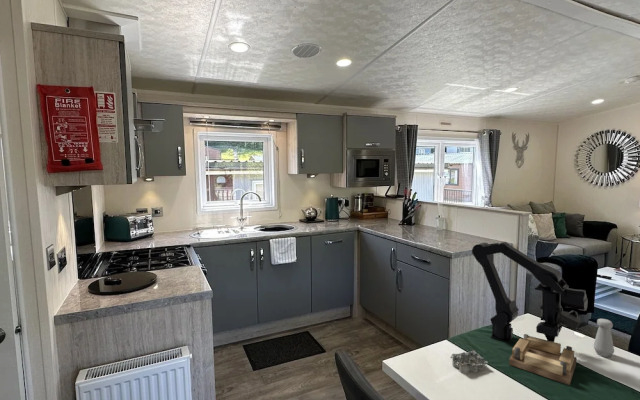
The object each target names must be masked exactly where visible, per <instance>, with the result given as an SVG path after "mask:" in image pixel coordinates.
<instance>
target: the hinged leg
mask: <svg viewBox="0 0 640 400" xmlns="http://www.w3.org/2000/svg"><path fill="white" fill-rule="evenodd" d="M523 339H524V340H527V341H529V347H531V348H535V349H538V350H542V351H546V352H550V353H553V354H557V355H560V353H562V351H561V348H562V347H561V346H562V343H561V342H559V343H558V342H555V341H554V342H552V341H548V340H547V339H543V338H540V337H535V336H531V335H530V334H526V333H524V334H523Z"/></svg>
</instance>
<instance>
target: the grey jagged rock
mask: <svg viewBox="0 0 640 400" xmlns="http://www.w3.org/2000/svg"><path fill="white" fill-rule="evenodd" d="M450 359H452V361H451V362H452V363H451V364H452V367H453V368H458V372H460V374H461V373H462V374H470V372H474V373H477V371H478V370H482V371H484V370H486V366H487V364H488V363H489V362H488V361H489V360H488V361H487V360H485V357H482V355H480V353H477V352H476V351H475V350H474V349H473V350H470V351H467V352H465V351H463V352H459V353H452V354H451V356H450Z"/></svg>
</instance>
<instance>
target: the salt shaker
mask: <svg viewBox="0 0 640 400" xmlns="http://www.w3.org/2000/svg"><path fill="white" fill-rule="evenodd" d="M596 325H597V326H598V327H597V328H598V329H597V332H596V335H595V337H594V338H595V339H594V342H593V350H594V351H595V352H596V354H597V355H598V356H600V357H602V358H611V356H612V355H613V354H614V353H615V346H614V342H613V335H612V330H611V329H613V326H614V325H613V322H612V321H611V320H609V319H606V318H598V319H597V320H596Z"/></svg>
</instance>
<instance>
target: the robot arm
mask: <svg viewBox="0 0 640 400" xmlns="http://www.w3.org/2000/svg"><path fill="white" fill-rule="evenodd" d="M471 253H472V255H473V257H474V258H475V261H476V262H477V263H478V264H479V265H480V266H481V268H482V270H483V272H484V275H485V277H486V280H487V283H488V286H489V287H490V290H491V292H492V295H493V297H494V300H495V305H494V306H495V313H496V314H495V315H494V316H492V317H490V318H489V319H490V320H489V321H490V323H491V326H492V327H491V330H492V331H491V332H492V334H491V335H490V338H492V339H495V340H498V341H502V342H504V343H509V342H510V341H511V340H512V339H513V337H514V336H513V335H514V334H513V333H514V332H513V331H514V328H513V327H512V323H511V322H513V321H514V320H515V319H516V318H518V316H519V311H520V309H519V308H518V306H517V302H516V300H511V299H510V298H509V297H508V296H507V292H506V290H505V287H504V285H503V282H502V280H501V277H500V275H499V273H498V270H497V268H496V265H495V262H494V261H495V260H494V259H495V258H494V257H495V256H494V255H496V254H502V255H504V256H506V257H507V258H508V259H510V260H512V261H513V262H515V263H516V264H517V265H520V266H521V267H522V268H524V269H525V270H527V271H529V273H530V274H532V275H533V277H534V278H535V279H536V280H537V281H538V282H539V284H538V285H537V286H536V287H534V290H535V291H540V293H541V296H540V297H541V305H540V307H539V308H540V310H541V316H540V322H539V323H537V325H536V327H535V328H536V331H535V332H536V333H538V334H542V335H544V337H545V338H546V339H545V340H548V341H552V342H555V340H556V338H558V337H559V334H560V333H561V329H562V328H563V325H565V326H567V327H569V328H570V329H571V330H573V331H577V330H578V327H579V325H580V324H581V321H582V319H581V317H580V316H579V315H578V312H577V311H576V310H579V311H584V312H585V311H587V309H588V304H589V301H588V297H587V296H588V295H587V293H586V292H587V291H586V290H585V289H576V288H575V289H574V288H569V287H570V286H569V285H568V284H567V282H566V281H565V279H563V278H562V277H563V276H562V273H561V272H560V271H559V270H558V269H556V268H555V267H551V266H550V265H547V264H544V263H541V262H540V261H539V262H538V261H537V260H535V259H534V258H532V257H530V256H528V255H527V254H525V253H523V252H522V251H520V250H519V249H518V248H515V247H514V246H512V245H510V244H509V243H508V242H507V241H501V242H496V243H495V242H493V243H488V242H480V243H478V244H475V245H474V246H473V247H472V249H471ZM561 304H562V305H563V306H564V307H565V308H570V309H572V310H570V311H565V310H564V309H563V307H562V305H561ZM573 309H575V310H573ZM561 324H562V325H561Z"/></svg>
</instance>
